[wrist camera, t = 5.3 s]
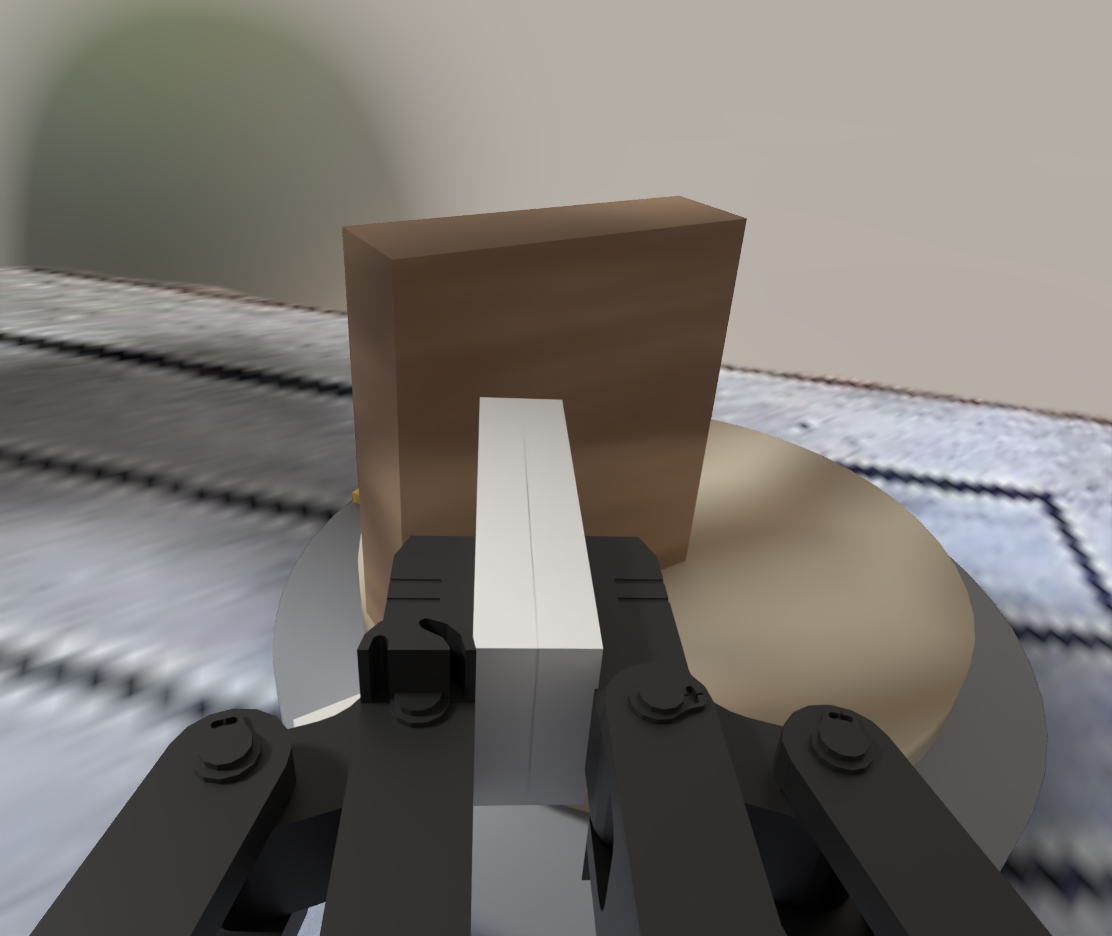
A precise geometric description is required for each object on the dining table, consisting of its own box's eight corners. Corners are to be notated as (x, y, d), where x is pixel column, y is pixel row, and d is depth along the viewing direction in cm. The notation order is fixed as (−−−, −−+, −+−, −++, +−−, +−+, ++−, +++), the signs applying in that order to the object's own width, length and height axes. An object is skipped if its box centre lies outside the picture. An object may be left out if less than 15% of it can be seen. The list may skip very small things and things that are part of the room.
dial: (276, 514, 28) (231, 153, 22) (680, 408, 37) (723, 133, 31) (590, 990, 15) (675, 445, 10) (1083, 652, 25) (1279, 269, 19)
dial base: (189, 551, 30) (181, 506, 29) (678, 418, 41) (683, 383, 40) (544, 1287, 14) (551, 1241, 13) (1179, 729, 25) (1207, 683, 24)
